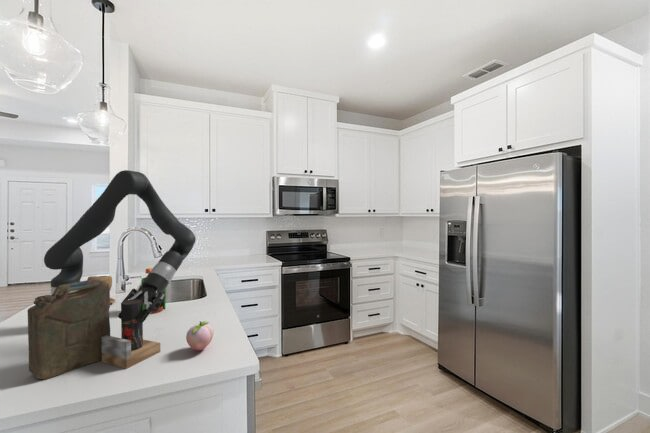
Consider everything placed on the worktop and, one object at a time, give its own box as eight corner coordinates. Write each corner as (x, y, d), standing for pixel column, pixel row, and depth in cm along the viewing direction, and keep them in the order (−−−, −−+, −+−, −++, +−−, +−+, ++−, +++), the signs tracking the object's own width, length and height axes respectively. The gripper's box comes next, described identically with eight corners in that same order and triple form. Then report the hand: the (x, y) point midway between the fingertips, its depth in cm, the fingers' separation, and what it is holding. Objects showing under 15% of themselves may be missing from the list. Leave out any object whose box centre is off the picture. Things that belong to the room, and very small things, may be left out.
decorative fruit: (193, 344, 111) (193, 316, 110) (216, 344, 110) (216, 316, 110) (180, 356, 101) (180, 326, 101) (205, 357, 101) (205, 326, 101)
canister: (101, 350, 106) (100, 277, 105) (113, 356, 101) (112, 280, 100) (26, 375, 90) (25, 289, 89) (36, 384, 85) (35, 293, 85)
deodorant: (146, 345, 103) (146, 300, 102) (129, 352, 97) (128, 305, 97) (135, 341, 105) (134, 298, 105) (117, 349, 100) (116, 303, 99)
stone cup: (111, 299, 164) (111, 271, 164) (117, 304, 156) (117, 275, 156) (75, 306, 153) (74, 276, 153) (79, 311, 145) (78, 280, 145)
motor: (152, 315, 140) (152, 271, 140) (135, 314, 142) (135, 270, 142) (168, 308, 150) (168, 267, 150) (152, 307, 152) (152, 266, 152)
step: (101, 362, 97) (101, 337, 97) (136, 346, 109) (136, 323, 108) (126, 368, 94) (126, 342, 93) (160, 351, 105) (160, 328, 105)
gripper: (138, 270, 111) (106, 312, 100) (168, 273, 106) (137, 317, 95) (151, 281, 116) (122, 322, 105) (180, 285, 111) (153, 328, 100)
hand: (129, 320), depth 100 cm, fingers open, 8 cm apart
